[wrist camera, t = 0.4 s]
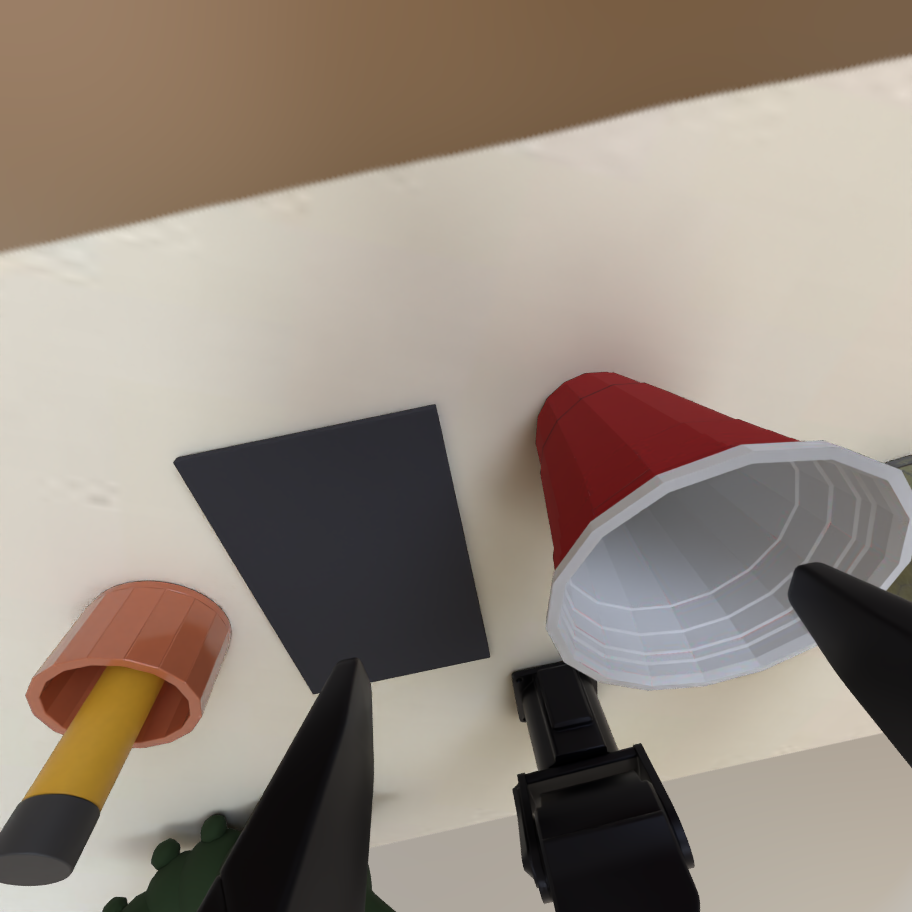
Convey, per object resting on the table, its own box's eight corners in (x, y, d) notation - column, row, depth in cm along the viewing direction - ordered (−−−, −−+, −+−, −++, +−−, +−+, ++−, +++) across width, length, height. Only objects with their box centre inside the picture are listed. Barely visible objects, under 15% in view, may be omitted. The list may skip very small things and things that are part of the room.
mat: (489, 651, 32) (490, 657, 31) (314, 688, 32) (313, 694, 31) (435, 403, 22) (436, 407, 21) (176, 457, 22) (172, 462, 21)
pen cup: (252, 653, 29) (226, 731, 25) (134, 677, 29) (88, 760, 25) (195, 568, 25) (152, 644, 21) (57, 596, 25) (-13, 678, 21)
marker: (195, 644, 28) (88, 876, 18) (147, 654, 27) (14, 892, 18) (170, 612, 26) (38, 848, 16) (119, 622, 26) (-43, 865, 16)
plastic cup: (444, 460, 23) (479, 667, 13) (573, 275, 19) (772, 361, 9) (593, 533, 27) (711, 737, 17) (727, 390, 23) (991, 546, 13)
